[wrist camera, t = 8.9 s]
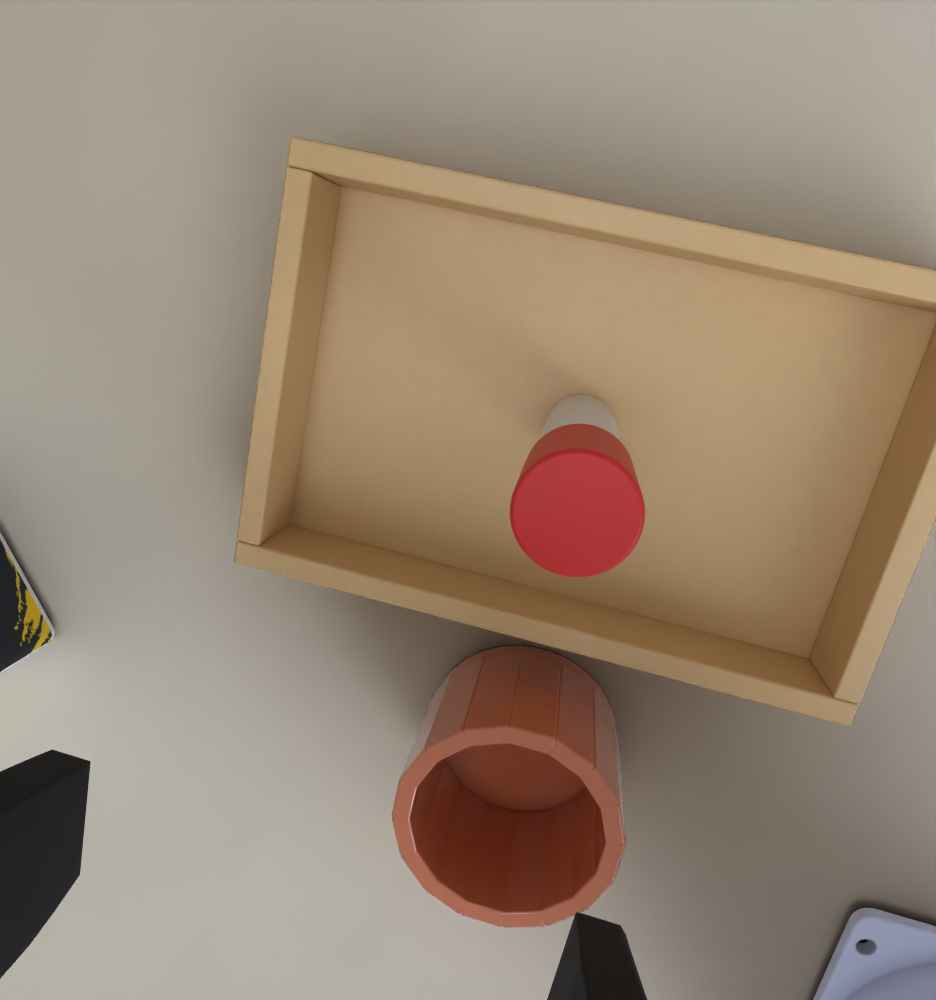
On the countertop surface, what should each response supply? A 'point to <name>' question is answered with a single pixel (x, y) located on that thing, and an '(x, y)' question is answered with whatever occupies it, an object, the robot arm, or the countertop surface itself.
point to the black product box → (19, 613)
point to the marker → (578, 493)
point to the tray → (633, 401)
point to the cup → (514, 790)
